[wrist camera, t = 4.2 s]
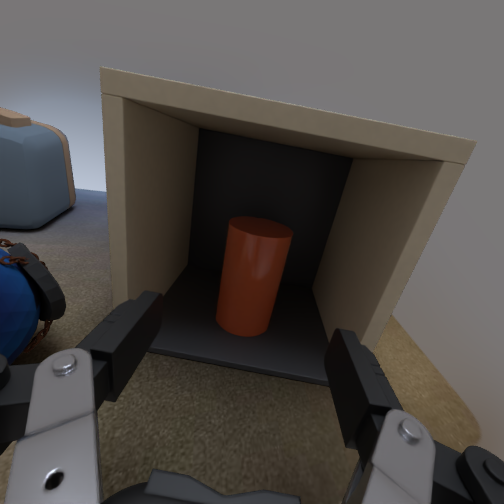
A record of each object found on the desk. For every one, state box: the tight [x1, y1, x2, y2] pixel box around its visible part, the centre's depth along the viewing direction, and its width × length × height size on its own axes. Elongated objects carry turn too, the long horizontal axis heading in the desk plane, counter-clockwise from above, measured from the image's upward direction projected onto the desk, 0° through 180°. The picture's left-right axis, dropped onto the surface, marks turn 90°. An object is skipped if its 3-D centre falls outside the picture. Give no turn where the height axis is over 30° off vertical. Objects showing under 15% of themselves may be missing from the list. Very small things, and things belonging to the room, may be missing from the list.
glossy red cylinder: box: [215, 216, 293, 337], centre depth 23 cm, size 6×6×10 cm
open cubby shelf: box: [100, 66, 477, 386], centre depth 23 cm, size 20×16×19 cm
